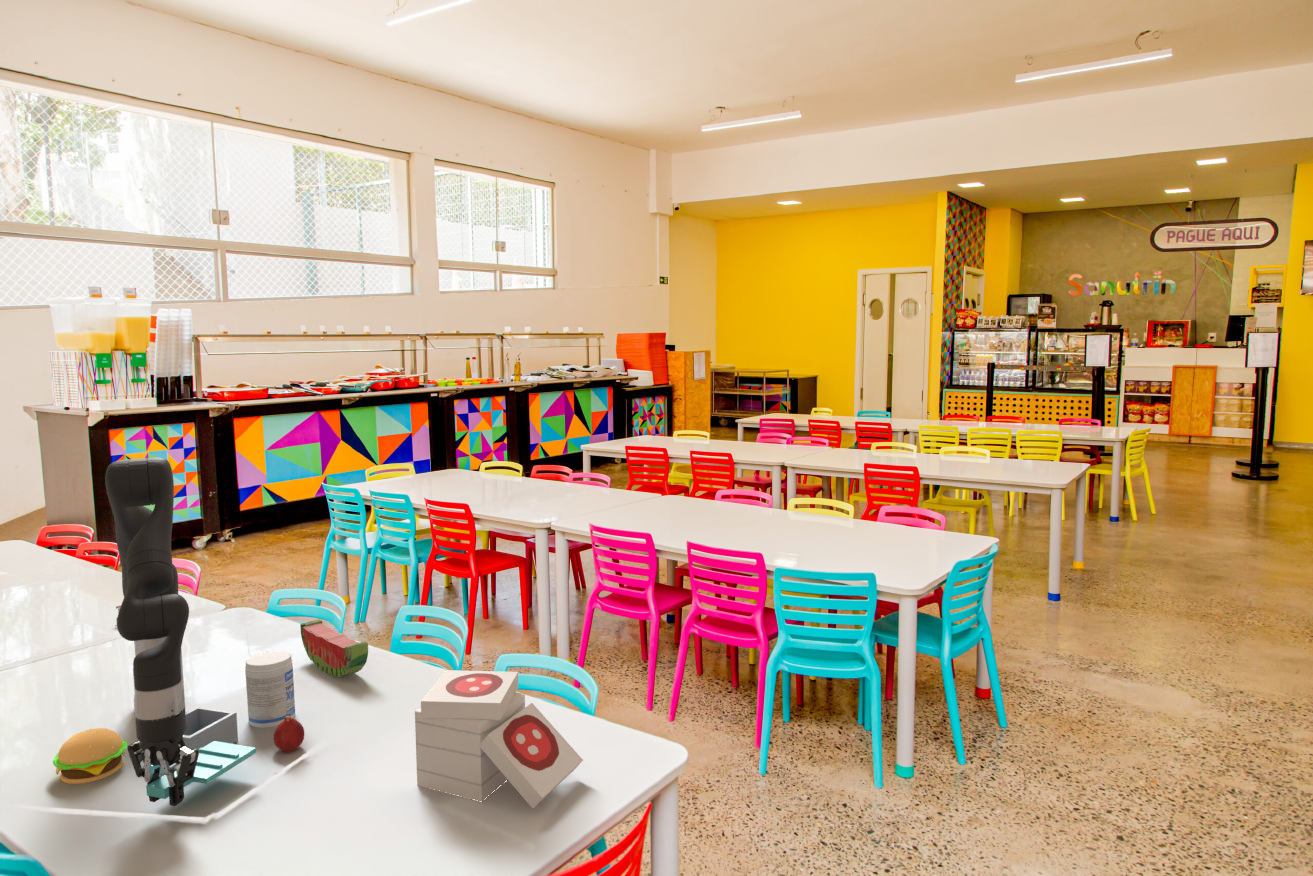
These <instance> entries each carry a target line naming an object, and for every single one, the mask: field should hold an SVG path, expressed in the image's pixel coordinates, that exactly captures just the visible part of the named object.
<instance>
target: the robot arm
mask: <svg viewBox="0 0 1313 876" xmlns="http://www.w3.org/2000/svg"><path fill="white" fill-rule="evenodd" d="M105 471H106V472H105V478H104V479H105V480H104V481H105V482H104V483H105V489H106V495H107V498H108V501H109V505H110V508H111V511H112V512H111V513H112V515H113V519H114V520H113V521H114V530H115V540H116V547H117V551H118V552H117V553H118V555H119V560H120V564H121V580H122V581H121V583H122V584H121V586H122V595H123V599H122V602H121V605H120V606H121V607H120V610H119V614H118V613H117V614H118V615H117V617H118V618H117V617H116V618H117V621H116V628H117V631H118V634H119V635H120V637H122V638H123V639H125V640H126V641H129V642H133V643H134V656H135V657H134V658H133V661H132V667H133V668H132V675H133V677H132V678H133V689H134V698H133V709H134V720H135V737H136V739H137V741H134V742H133V743H131V744H129V745H127V749H126V750H127V751H128V754H129V758H130V761H131V763H132V767H133V769H134V772H135V774H136V777H137V778H143V779H144V782H145V783H146V786H147V785H148V784H150V783H152V782H154V781H155V780H157V779H159V778H160V777H161V775H162V771H163V774H164V775H166V776H167V779H168V783H169V785H170V786H169V797H168V803H169V806H170V807H175V806H177V805H180V803H182V802H183V800H184V799H185V789H184V788H185V787H184V786H183V783H185V782H186V781H188V780H190V779H192V778H193V776H194V772H195V768H196V764H197V760H198V756H199V750H198V749H194V750H190V749H188V748H186V747H185V746H186V745H185V742H184V740H183V734H184V732H185V730H186V701H185V699H186V697H185V685H184V683H185V682H184V681H185V680H184V668H183V667H184V666H183V651H182V650H183V649H182V645H183V639H184V636H185V632H186V627H187V625H188V622H189V615H190V607H189V603H188V601H187V599H185V598H184V597H183V595H181V594H179V574H178V569H177V567H176V565H174V564H173V556H172V531H173V523H174V522H173V521H174V501H175V499H174V498H175V493H174V492H175V483H174V481H175V480H174V473H173V469H172V465H171V464H170V461H169V460H168V459H166V458H165V457H143V458H130V459H119V460H116V461H113V462H111V463H110V464H109V465H108V466H107V468H106V470H105ZM146 506H147V507H146ZM148 506H154V508H153V510H152V509H150V508H148ZM142 762H143V767H142V764H141V763H142ZM174 763H176V764H175V765H173V766H172V767H170V766H171V765H172V764H174ZM175 771H176V772H177V777H175V776H174V772H175ZM148 798H149V799H148V800H149V802H152V803H156V802H157V801H159V800H160V799H161V798H157V797H152V796H148Z"/></svg>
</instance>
